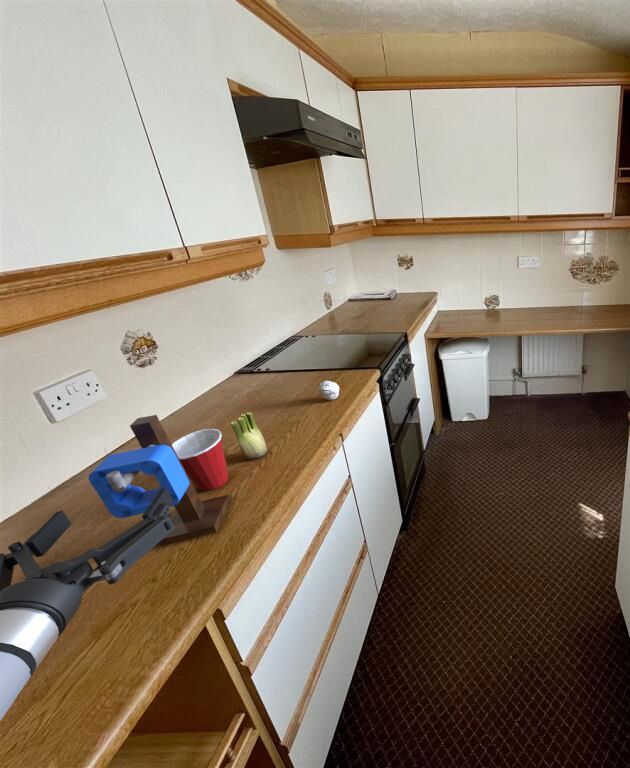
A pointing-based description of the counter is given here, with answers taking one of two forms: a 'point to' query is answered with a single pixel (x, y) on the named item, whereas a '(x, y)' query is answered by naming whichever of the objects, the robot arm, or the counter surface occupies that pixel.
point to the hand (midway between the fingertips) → (117, 505)
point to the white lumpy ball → (329, 390)
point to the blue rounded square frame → (133, 497)
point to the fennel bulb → (249, 437)
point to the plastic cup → (203, 458)
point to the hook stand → (190, 511)
